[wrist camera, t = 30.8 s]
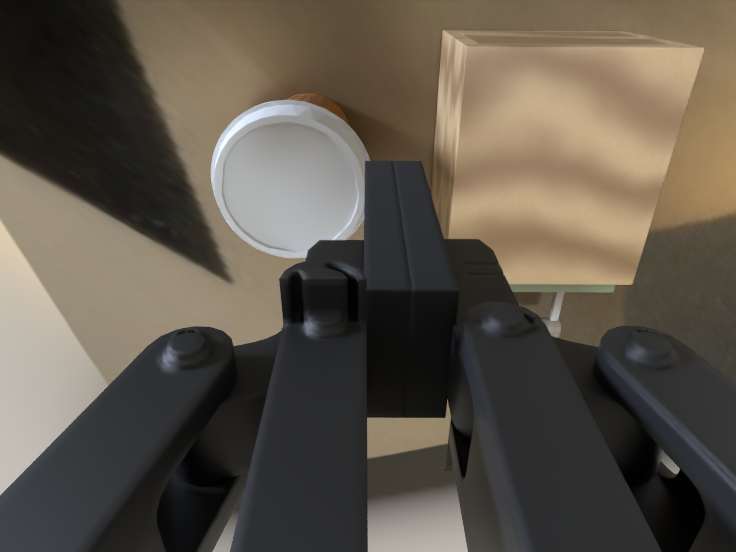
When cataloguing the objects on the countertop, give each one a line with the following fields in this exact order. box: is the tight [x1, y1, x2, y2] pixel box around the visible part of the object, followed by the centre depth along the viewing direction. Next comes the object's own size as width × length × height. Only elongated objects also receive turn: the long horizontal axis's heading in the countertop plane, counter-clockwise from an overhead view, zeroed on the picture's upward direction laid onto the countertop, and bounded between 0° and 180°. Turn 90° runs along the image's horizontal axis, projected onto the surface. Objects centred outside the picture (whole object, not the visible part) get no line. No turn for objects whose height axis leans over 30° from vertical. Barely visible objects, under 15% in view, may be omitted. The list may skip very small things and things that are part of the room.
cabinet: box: [431, 30, 704, 285], centre depth 35 cm, size 15×13×10 cm
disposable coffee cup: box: [211, 93, 371, 258], centre depth 34 cm, size 10×10×12 cm
